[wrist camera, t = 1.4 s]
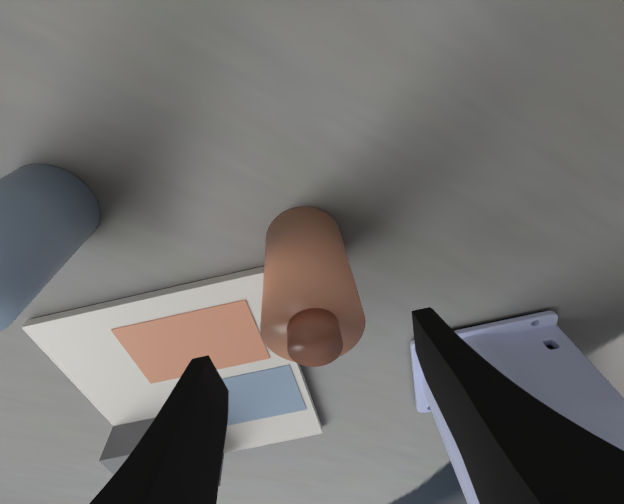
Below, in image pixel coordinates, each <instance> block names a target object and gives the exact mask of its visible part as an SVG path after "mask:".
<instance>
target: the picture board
mask: <svg viewBox="0 0 624 504" xmlns="http://www.w3.org/2000/svg"><path fill="white" fill-rule="evenodd" d="M263 277H264V266H263V267H258V268H254V269H250V270H245V271H241V272H236V273H232V274H228V275H223V276H219V277H214V278H210V279H205V280H201V281H197V282H192V283H188V284H183V285H179V286H175V287H170V288H166V289H161V290H157V291H153V292H148V293H144V294H139V295H135V296H131V297H126V298H122V299H117V300H113V301H109V302H104V303H100V304H95V305H91V306H87V307H82V308H78V309H73V310H69V311H65V312H60V313H56V314H51V315H47V316H43V317H38V318H34V319H29V320H27V321H26V322H25V324H24V325H23V326H22V327H21V328H22V329H23V330H24V331H25V332H26V333H27V334H28V335H29V336H30V337H31V338H32V339H33V340H34V342H35V343H36V344H37V345H38V346H39V347H40V348H41V349H42V350H43V351H44V352H45V353H46V354H47V355H48V357H49V358H50V359H51V360H52V361H53V362H54V363H55V364H56V365H57V366H58V367H59V368H60V369H61V370H62V372H63V373H64V374H65V375H66V376H67V377H68V378H69V379H70V380H71V381H72V382H73V383H74V384H75V385H76V387H77V388H78V389H79V390H80V391H81V392H82V393H83V394H84V395H85V396H86V397H87V398H88V399H89V400H90V402H91V403H92V404H93V405H94V406H95V407H96V408H97V409H98V410H99V411H100V412H101V413H102V414H103V415H104V417H105V418H106V419H107V420H108V421H109V422H110V423H111V424H112V425H113V428H112V431H111V433H110V436H109V438H108V440H107V443H106V445H105V448H104V450H103V453H102V455H101V457H100V460H99V461H100V462H101V463H102V464H103V465H104V466H105V467H106V468H107V469H108V470H109V471H111V472H112V473H113V474H115V473H116V472H117V471H118V469H119V468H120V467H121V466H122V464H123V463H124V462H125V460H126V459H127V458H128V456H129V455H130V454H131V452H132V451H133V450H134V448H135V447H136V445H137V444H138V442H139V441H140V440H141V438H142V437H143V435H144V434H145V432H146V431H147V429H148V428H149V427H150V425H151V424H152V422H153V421H154V419H155V417H156V416H157V414H158V413H159V411H160V410H161V408H162V406H163V405H164V403H165V402H166V400H167V399H168V397H169V395H170V394H171V392H172V390H173V389H174V387H175V386H176V384H177V382H178V381H179V379H180V377H181V376H182V374H183V372H184V371H185V369H186V367H187V366H188V364H189V363H190V361H191V360H192V359H194V358H198V357H203V356H207V355H209V357H210V359H211V361H212V362H213V364H214V366H215V368H216V369H217V371H218V373H219V375H220V376H221V378H222V380H223V382H224V383H225V385H226V387H227V389H228V390H229V399H228V423H227V430H226V437H225V444H224V451H223V458H224V453H227V452H232V451H237V450H242V449H247V448H252V447H257V446H262V445H267V444H272V443H277V442H282V441H287V440H292V439H297V438H302V437H308V436H313V435H318V434H323V431H322V425H321V422H320V419H319V417H318V414H317V411H316V408H315V406H314V403H313V400H312V397H311V395H310V392H309V389H308V386H307V384H306V381H305V378H304V375H303V373H302V370H301V367H300V364H298V363H296V362H292V361H289V360H286V359H284V358H281V357H280V356H278V355H276V354H275V353H273V352H272V351H271V350H270V349H269V348H268V347H267V346H266V344H265V343H264V341H263V339H262V336H261V331H260V323H261V308H262V293H263ZM223 458H222V464H221V471H220V478H219V484H218V486H220V481H221V473H222V465H223Z"/></svg>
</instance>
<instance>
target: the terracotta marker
mask: <svg viewBox="0 0 624 504" xmlns="http://www.w3.org/2000/svg"><path fill="white" fill-rule="evenodd" d="M364 328H365V316H364V312H363V309H362V305H361V302H360V298H359V295H358V291H357V288H356V285H355V281H354V278H353V274H352V271H351V267H350V264H349V260H348V257H347V253H346V250H345V246H344V243H343V239H342V236H341V233H340V229H339V227H338V224H337V223H336V221H335V220H334V219H333V218H332V217H331V216H330V215H329V214H328V213H326V212H324V211H322V210H320V209H317V208H313V207H296V208H292V209H289V210H287V211H285V212H283V213H281V214H280V215H279V216H277V217H276V218H275V219H274V220H273V222H272V223H271V224H270V226H269V228H268V231H267V235H266V247H265V262H264V277H263V293H262V308H261V323H260V331H261V336H262V339H263V341H264V343H265V344H266V346H267V347H268V348H269V349H270V350H271V351H272V352H273V353H275V354H276V355H278V356H280V357H281V358H284V359H286V360H289V361H292V362H296V363H298V364H300V365H303V366H309V367H317V366H323V365H326V364H328V363H331V362H332V361H334V360H335V359H336V358H338V357H339V356H342V355H343V354H345V353H347V352H348V351H349V350H351V349H352V348H353V347H354V346H355V345H356V344H357V342H358V341H359V340H360V338H361V337H362V334H363V332H364Z"/></svg>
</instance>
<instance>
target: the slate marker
mask: <svg viewBox="0 0 624 504" xmlns="http://www.w3.org/2000/svg"><path fill="white" fill-rule="evenodd" d="M99 220H100V210H99V205H98V203H97V200H96V198H95V196H94V195H93V193H92V192H91V190H90V189H89V188H88V187H87V186H86V185H85V184H84V183H83V182H82V181H81V180H80V179H79V178H77V177H76V176H74V175H73V174H71V173H69V172H67V171H66V170H63V169H61V168H58V167H55V166H51V165H46V164H31V165H26V166H23V167H21V168H19V169H17V170H15V171H14V172H12V173H10V174H8V175H6V176H5V177H3V178H1V179H0V331H1V330H3V329H5V328H6V327H8V326H9V325H10V324H11V323H12V322H13V321H14V320H15V319H16V318H17V317H18V316H19V314H20V313H21V312H22V311H23V310H24V309H25V308H26V307H27V306H28V304H29V303H30V302H31V301H32V300H33V299H34V298H35V297H36V295H37V294H38V293H39V292H40V291H41V290H42V289H43V288H44V287H45V285H46V284H47V283H48V282H49V281H50V280H51V279H52V278H53V276H54V275H55V274H56V273H57V272H58V271H59V270H60V269H61V268H62V266H63V265H64V264H65V263H66V262H67V261H68V260H69V259H70V257H71V256H72V255H73V254H74V253H75V252H76V251H77V250H78V249H79V247H80V246H81V245H82V244H83V243H84V242H85V241H86V240H87V238H88V237H89V236H90V235H91V234H92V233H93V232H94V231H95V229H96V228H97V226H98V224H99Z"/></svg>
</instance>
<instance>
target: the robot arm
mask: <svg viewBox="0 0 624 504" xmlns="http://www.w3.org/2000/svg"><path fill="white" fill-rule="evenodd" d="M412 319H413V330H414V340H413V341H412V342H411V343H410V349H411V359H412V369H413V379H414V389H415V399H416V407H417V410H418V412H420V413H426V412H431V411H432V414H433V416H434V419H435V422H436V424H437V427H438V429H439V432H440V434H441V437H442V439H443V442H444V445H445V447H446V450H447V452H448V455H449V457H450V460H451V463H452V465H453V468H454V470H455V473H456V475H457V478H458V480H459V483H460V486H461V488H462V491H463V493H464V496H465V498H466V501H467V503H468V504H624V398H623V397H622V396H621V395H620V393H618V391H617V390H616V389H615V388H614V387H613V386H612V385H611V384H610V383H609V381H607V379H606V378H605V377H604V376H603V375H602V374H601V373H600V372H599V371H598V369H597V368H596V367H595V366H594V365H593V364H592V363H591V362H590V361H589V360H588V359H587V357H586V356H585V355H584V354H583V353H582V352H581V351H580V350H579V349H578V348H577V347H576V345H575V344H574V343H573V342H572V341H571V340H570V339H569V338H568V337H567V336H566V335H565V333H564V332H563V331H562V330H561V329H560V328H559V327H558V326H557V321H558V315H557V314H556V313H555V312H554V311H545V312H540V313H535V314H531V315H526V316H521V317H516V318H512V319H507V320H502V321H497V322H493V323H488V324H483V325H478V326H474V327H469V328H464V329H459V330H455V331H453V330H452V329H451V328H450V327H449V326H448V325H447V324H446V323H445V322H444V321H443V320H442V319H441V317H440V316H439V315H438V314H437V313H436V312H435V311H434V310H433V309H432V308H430V307H429V308H424V309H419V310H415V311H412ZM228 399H229V390H228V389H227V387H226V385H225V383H224V382H223V380H222V378H221V376H220V375H219V373H218V371H217V369H216V368H215V366H214V364H213V362H212V361H211V359H210V357H209V355H207V356H203V357H198V358H194V359H192V360H191V361H190V363H189V364H188V366H187V367H186V369H185V371H184V372H183V374H182V376H181V377H180V379H179V381H178V382H177V384H176V386H175V387H174V389H173V390H172V392H171V394H170V395H169V397H168V399H167V400H166V402H165V403H164V405H163V406H162V408H161V410H160V411H159V413H158V414H157V416H156V417H155V419H154V421H153V422H152V424H151V425H150V427H149V428H148V429H147V431H146V432H145V434H144V435H143V437H142V438H141V440H140V441H139V442H138V444H137V445H136V447H135V448H134V450H133V451H132V452H131V454H130V455H129V456H128V458H127V459H126V460H125V462H124V463H123V464H122V466H121V467H120V468H119V469H118V471H117V472H116V473H115V474H114V476H113V477H112V478H111V479H110V481H109V482H108V483H107V484H106V485H105V487H104V488H103V489H102V490H101V491H100V492H99V493H98V495H97V496H96V497H95V498H94V499H93V500H92V501H91V503H90V504H216V501H217V492H218V484H219V478H220V471H221V464H222V458H223V451H224V444H225V437H226V430H227V423H228Z"/></svg>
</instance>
